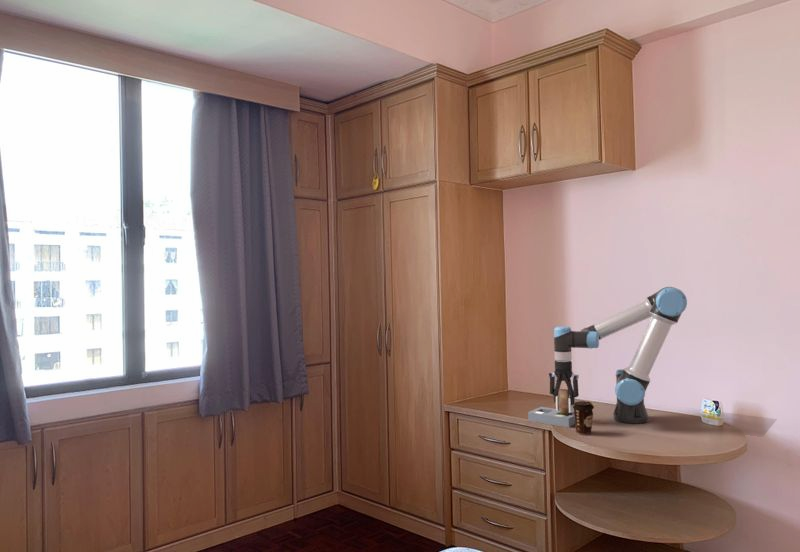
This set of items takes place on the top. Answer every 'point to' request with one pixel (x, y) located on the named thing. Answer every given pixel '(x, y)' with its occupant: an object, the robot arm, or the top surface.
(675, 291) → the robot arm
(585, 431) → the coffee cup
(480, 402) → the top surface
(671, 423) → the top surface
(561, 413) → the walnut plug
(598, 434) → the top surface
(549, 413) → the socket block
